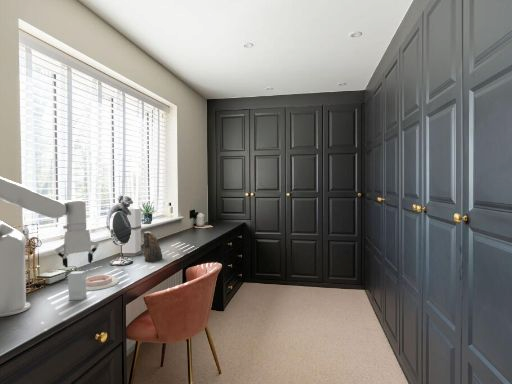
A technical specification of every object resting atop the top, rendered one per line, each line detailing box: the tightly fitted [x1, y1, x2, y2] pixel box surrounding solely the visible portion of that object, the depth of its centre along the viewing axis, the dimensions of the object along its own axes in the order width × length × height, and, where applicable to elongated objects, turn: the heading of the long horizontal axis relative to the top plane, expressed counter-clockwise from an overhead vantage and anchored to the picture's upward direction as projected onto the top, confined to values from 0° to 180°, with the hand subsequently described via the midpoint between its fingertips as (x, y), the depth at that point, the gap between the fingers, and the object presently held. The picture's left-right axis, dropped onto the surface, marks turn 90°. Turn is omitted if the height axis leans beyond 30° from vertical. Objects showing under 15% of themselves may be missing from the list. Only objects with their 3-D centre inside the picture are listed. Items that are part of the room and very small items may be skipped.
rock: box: [142, 230, 164, 263], centre depth 209 cm, size 13×13×20 cm
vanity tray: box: [86, 274, 120, 292], centre depth 157 cm, size 20×20×3 cm
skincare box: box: [67, 270, 87, 301], centre depth 136 cm, size 6×4×12 cm
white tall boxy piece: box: [122, 207, 142, 257], centre depth 227 cm, size 11×11×35 cm
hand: (78, 264), depth 136 cm, fingers open, 9 cm apart
